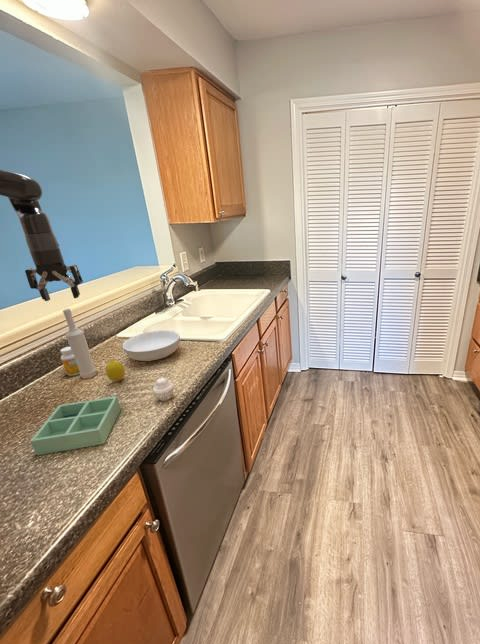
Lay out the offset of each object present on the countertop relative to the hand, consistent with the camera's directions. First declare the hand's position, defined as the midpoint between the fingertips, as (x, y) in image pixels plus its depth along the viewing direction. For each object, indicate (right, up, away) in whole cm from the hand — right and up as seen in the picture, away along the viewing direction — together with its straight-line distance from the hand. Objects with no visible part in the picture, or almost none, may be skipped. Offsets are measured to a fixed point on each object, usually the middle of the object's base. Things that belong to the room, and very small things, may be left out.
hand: (62, 299), depth 106 cm
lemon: (+15, -28, +6) cm, 32 cm away
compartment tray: (+19, -38, -17) cm, 46 cm away
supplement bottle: (-5, -26, +14) cm, 30 cm away
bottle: (+1, -26, +11) cm, 29 cm away
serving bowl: (+20, -20, +24) cm, 37 cm away
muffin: (+36, -32, -5) cm, 48 cm away
